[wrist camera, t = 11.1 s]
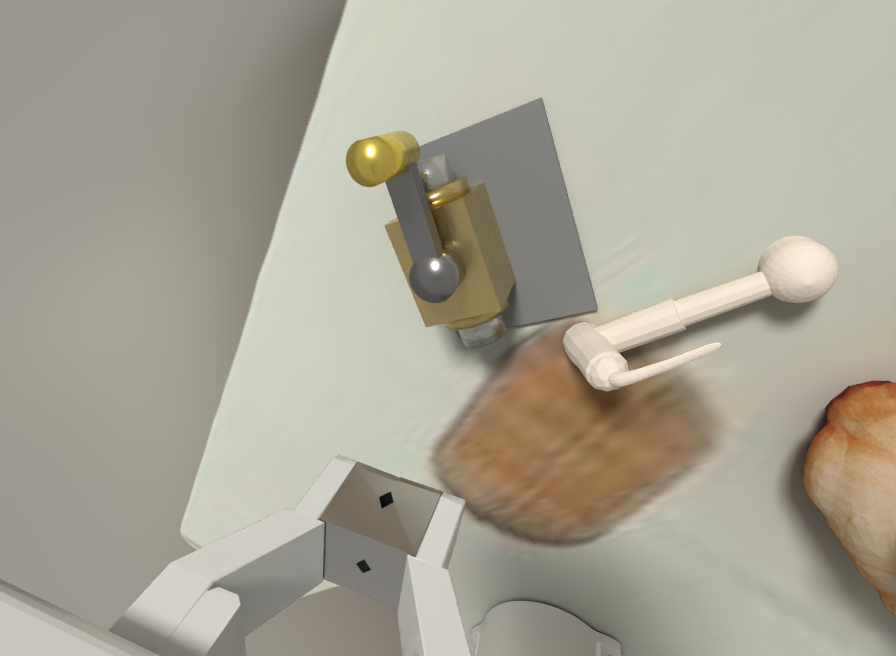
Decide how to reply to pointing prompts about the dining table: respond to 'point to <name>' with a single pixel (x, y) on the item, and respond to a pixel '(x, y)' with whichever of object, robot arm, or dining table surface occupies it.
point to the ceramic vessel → (859, 480)
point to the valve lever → (408, 210)
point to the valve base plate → (525, 210)
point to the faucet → (699, 312)
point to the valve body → (463, 255)
